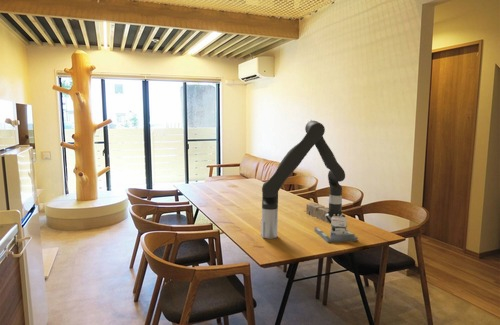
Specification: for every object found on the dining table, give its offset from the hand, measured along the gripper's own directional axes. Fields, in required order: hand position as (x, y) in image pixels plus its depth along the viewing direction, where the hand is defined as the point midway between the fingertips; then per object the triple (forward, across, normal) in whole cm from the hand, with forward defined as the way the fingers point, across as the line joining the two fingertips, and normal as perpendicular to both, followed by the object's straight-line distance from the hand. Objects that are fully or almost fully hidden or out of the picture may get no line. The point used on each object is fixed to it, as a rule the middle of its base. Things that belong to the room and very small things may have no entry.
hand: (334, 230), depth 202 cm
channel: (+2, 0, -2) cm, 4 cm away
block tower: (+3, +6, +34) cm, 35 cm away
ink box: (+3, 0, -5) cm, 6 cm away
